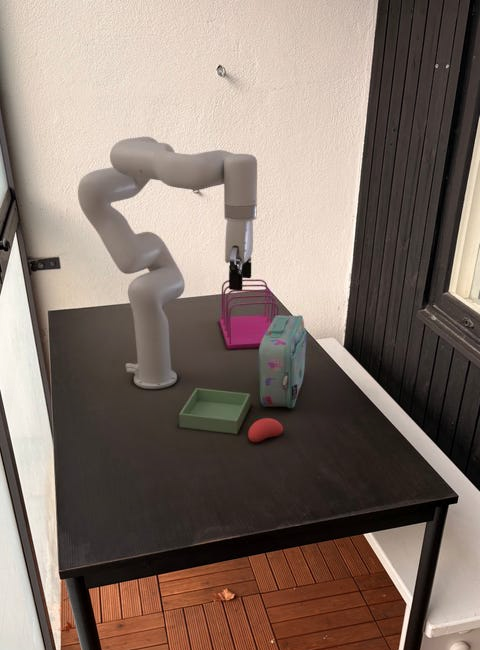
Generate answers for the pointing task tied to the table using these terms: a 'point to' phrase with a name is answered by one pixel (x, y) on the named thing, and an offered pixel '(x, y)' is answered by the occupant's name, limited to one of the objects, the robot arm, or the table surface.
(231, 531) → the table surface
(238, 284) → the robot arm
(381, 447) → the table surface
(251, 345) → the file sorter
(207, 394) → the tote
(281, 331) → the lunch box
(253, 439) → the red oval piece
